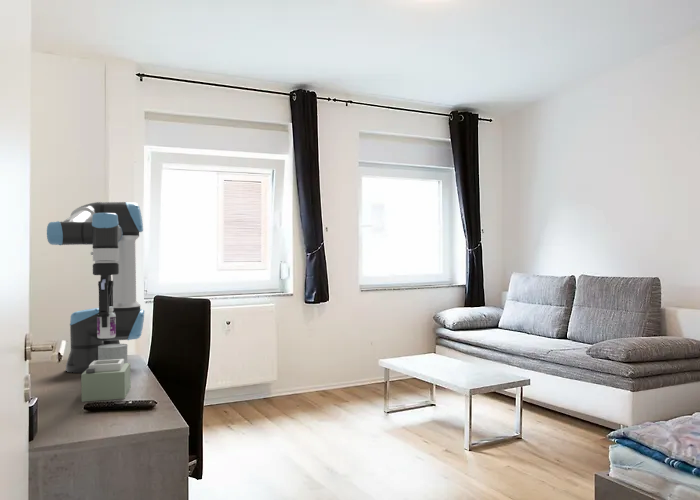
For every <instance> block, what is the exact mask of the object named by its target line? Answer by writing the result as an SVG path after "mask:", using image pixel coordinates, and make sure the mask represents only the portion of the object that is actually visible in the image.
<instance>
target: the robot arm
mask: <svg viewBox="0 0 700 500" xmlns="http://www.w3.org/2000/svg"><path fill="white" fill-rule="evenodd" d="M143 225H144V224H143V215H142V211H141V208H140V205H139V204H138V203H137V202H129V201H128V202H127V201H122V202H121V201H119V202H117V201H116V202H115V201H114V202H113V201H109V202H108V201H106V202H103V201H102V202H101V201H95V202H91V203H87V204H84V205H81V206H79V207H77V208H75V209H74V210H73V211H72V212H71V214H70V216H68V218H67V217H66V219H65V220H63V221H59V220H57V221H50V222H48V223H47V228H46V237H47V238H46V240H47V242H48V244H49V245H52V246H65V245H66V246H70V245H72V246H75V245H77V246H78V245H80V246H82V245H92V251H90V256H92V262H94V263H93V264H92V275H94V276H100V277H99V278H100V280H99V281H98V283H97V286H98V307H93V308H88V309H82V310H78V311H74V312H72V313H71V315H70V323H69V327H70V329H69V332H70V335H69V336H70V352H69V355H68V358H67V360H66V363H65V372H66V371H67V373H72V372H73V373H74V374H75V373H76V374H77V373H80V374H82V373H83V372H84V371H85V370H86V369H88V368H89V365H90V364H91V363H92V362H93V361H96V360H98V346H101V345H103V341H116V340H119V341H130V340H131V341H132V340H138V339H140V338H141V336H142V333H143V329H144V320H145V310H144V309H142V308H141V304H140V303H139V302H137V276H136V275H137V274H136V273H137V270H136V269H137V266H136V265H137V263H136V262H137V261H136V260H137V259H136V241H137V240H138V238H140V233H142V232H144V226H143ZM109 306H112V307H113V311H112V312H113V313H114V314H115V315H116V336H115V337H114V338H110V317H109ZM98 314H99V315H98ZM97 317H100V338H104V339H100V338H98V337H97ZM105 338H106V339H105Z"/></svg>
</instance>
